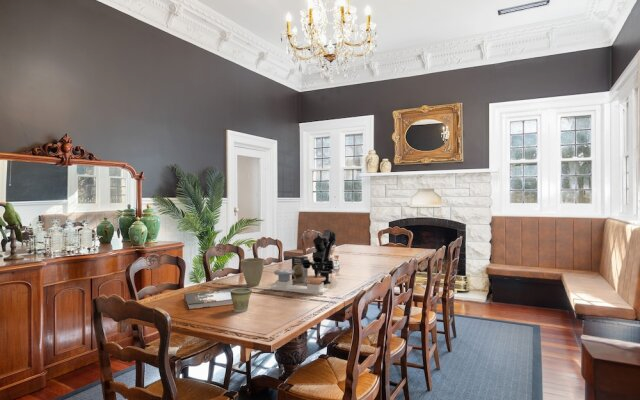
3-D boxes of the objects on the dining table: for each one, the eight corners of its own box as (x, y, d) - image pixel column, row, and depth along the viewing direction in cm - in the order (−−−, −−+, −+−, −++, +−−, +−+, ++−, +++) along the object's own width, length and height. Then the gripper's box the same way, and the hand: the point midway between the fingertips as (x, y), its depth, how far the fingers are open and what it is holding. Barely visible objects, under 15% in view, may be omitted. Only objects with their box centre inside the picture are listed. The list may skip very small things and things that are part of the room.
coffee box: (291, 281, 267) (291, 256, 267) (295, 279, 273) (295, 255, 273) (304, 282, 264) (303, 257, 263) (308, 280, 270) (308, 256, 269)
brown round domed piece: (301, 289, 235) (301, 278, 235) (310, 284, 246) (310, 274, 246) (320, 290, 230) (320, 279, 230) (328, 286, 241) (328, 275, 241)
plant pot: (267, 282, 264) (267, 257, 263) (261, 287, 249) (261, 261, 249) (244, 282, 265) (244, 257, 265) (237, 287, 250) (237, 261, 250)
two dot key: (270, 282, 243) (270, 271, 243) (280, 278, 254) (280, 268, 254) (288, 284, 238) (288, 273, 238) (297, 280, 249) (297, 269, 249)
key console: (270, 289, 245) (270, 280, 245) (278, 286, 253) (278, 278, 253) (322, 294, 231) (322, 285, 231) (328, 291, 240) (328, 282, 239)
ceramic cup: (241, 314, 194) (241, 293, 194) (226, 311, 199) (225, 291, 199) (259, 307, 205) (259, 288, 205) (244, 305, 210) (244, 285, 210)
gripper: (302, 246, 246) (297, 267, 236) (333, 246, 242) (329, 268, 231) (306, 257, 254) (301, 278, 243) (335, 258, 250) (332, 279, 239)
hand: (315, 276), depth 239 cm, fingers closed
